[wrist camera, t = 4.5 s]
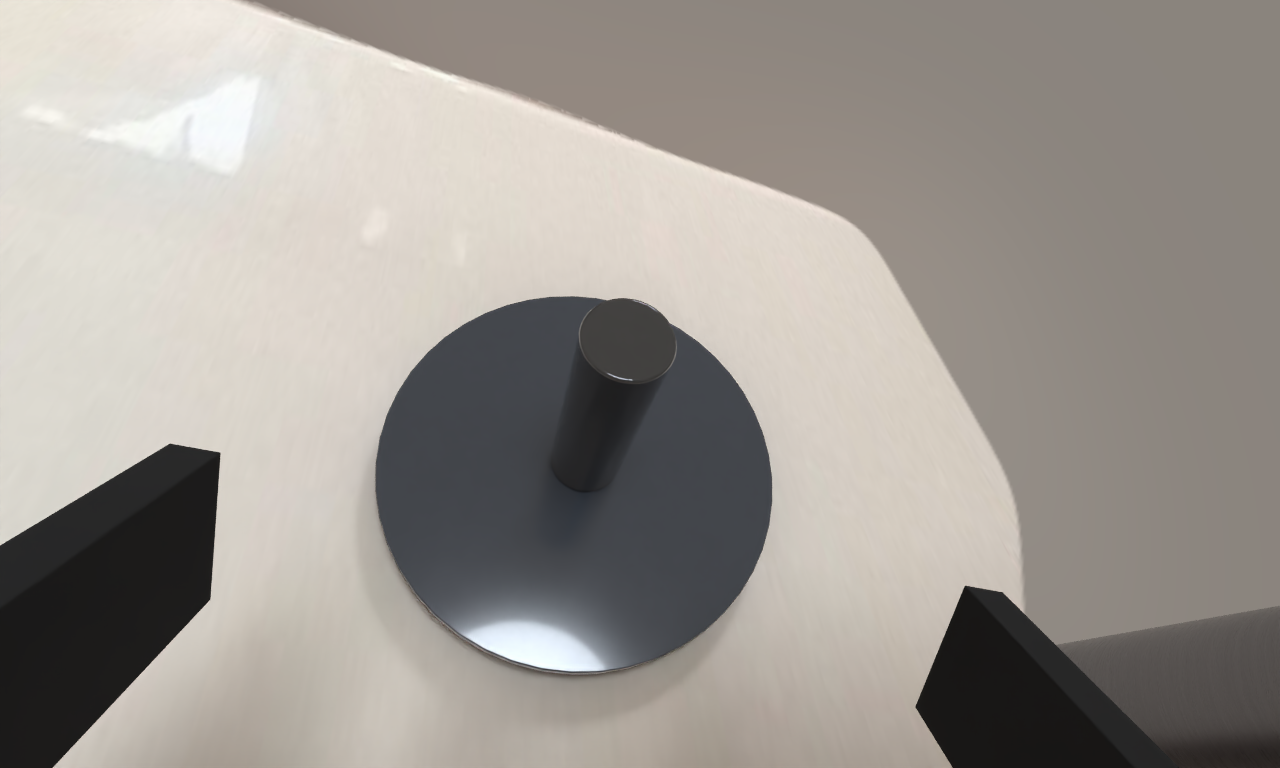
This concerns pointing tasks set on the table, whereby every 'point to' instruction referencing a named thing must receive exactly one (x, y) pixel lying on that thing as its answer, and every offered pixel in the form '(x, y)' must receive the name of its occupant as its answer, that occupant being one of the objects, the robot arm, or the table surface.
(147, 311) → the table surface
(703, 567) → the lid
